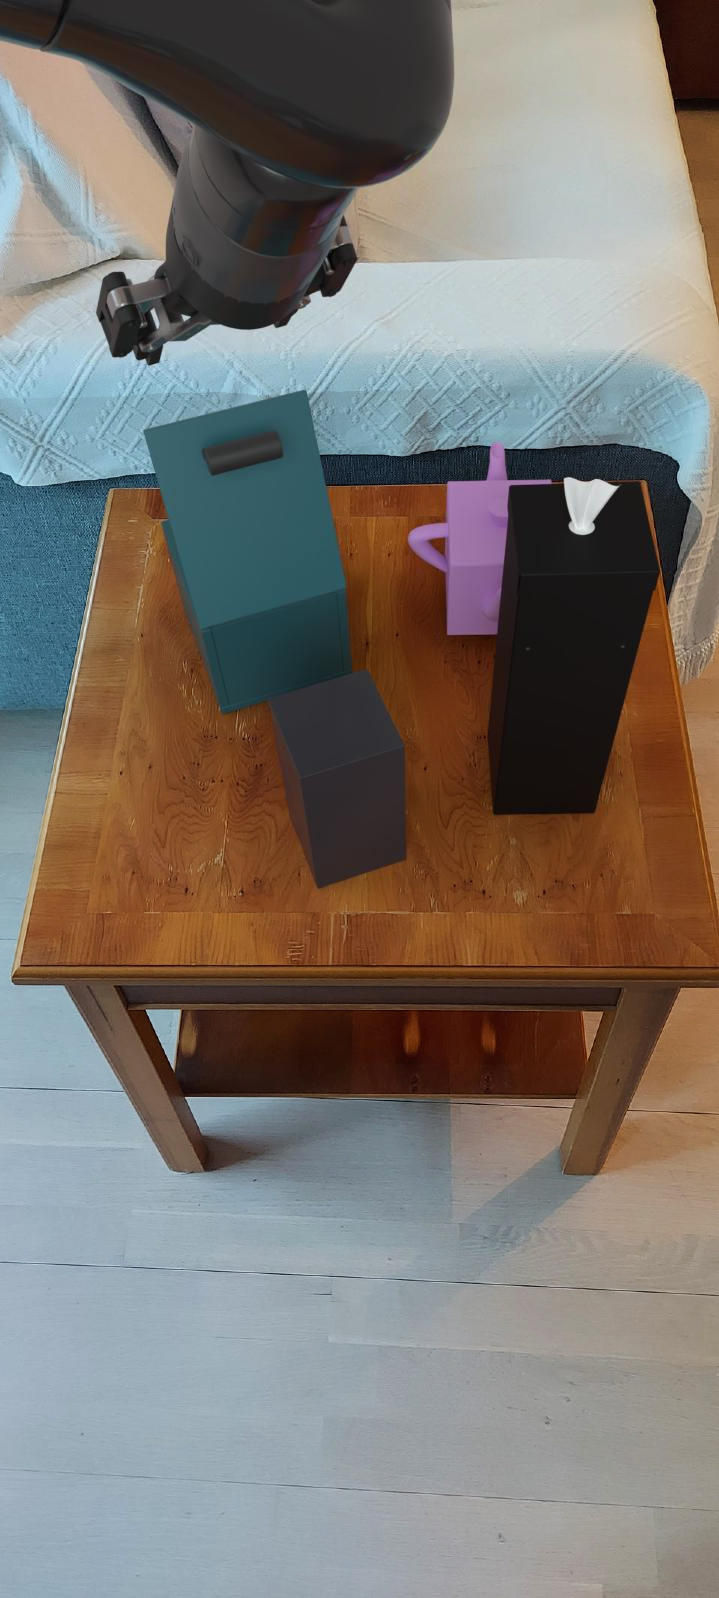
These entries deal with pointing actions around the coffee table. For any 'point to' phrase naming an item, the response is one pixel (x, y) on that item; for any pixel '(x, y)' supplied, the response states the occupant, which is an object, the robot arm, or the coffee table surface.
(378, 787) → the stand
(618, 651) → the tissue box
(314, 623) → the wipes case
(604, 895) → the coffee table surface
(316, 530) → the case lid
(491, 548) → the teapot
